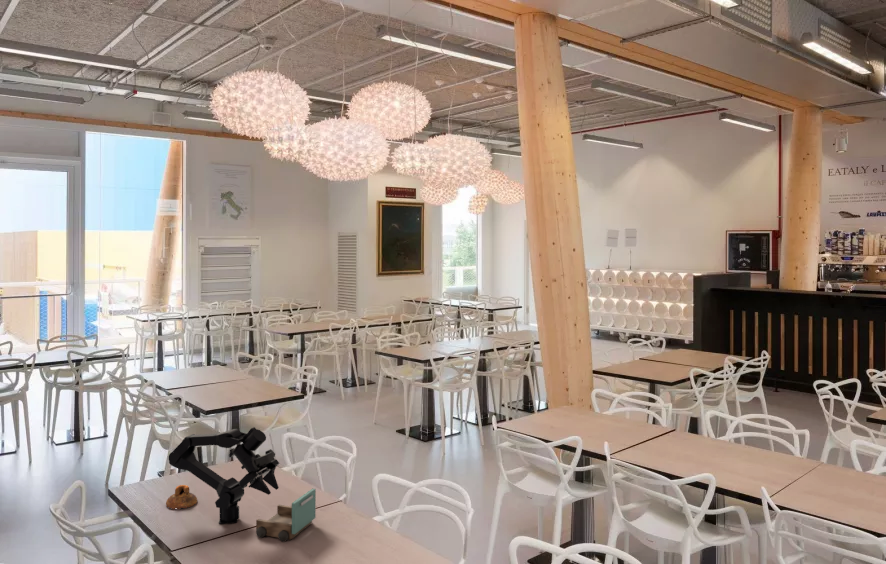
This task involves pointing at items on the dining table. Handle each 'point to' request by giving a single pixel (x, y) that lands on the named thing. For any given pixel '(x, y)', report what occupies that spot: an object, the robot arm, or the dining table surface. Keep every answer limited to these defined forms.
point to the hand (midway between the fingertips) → (273, 491)
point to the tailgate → (303, 510)
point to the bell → (181, 498)
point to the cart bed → (278, 524)
